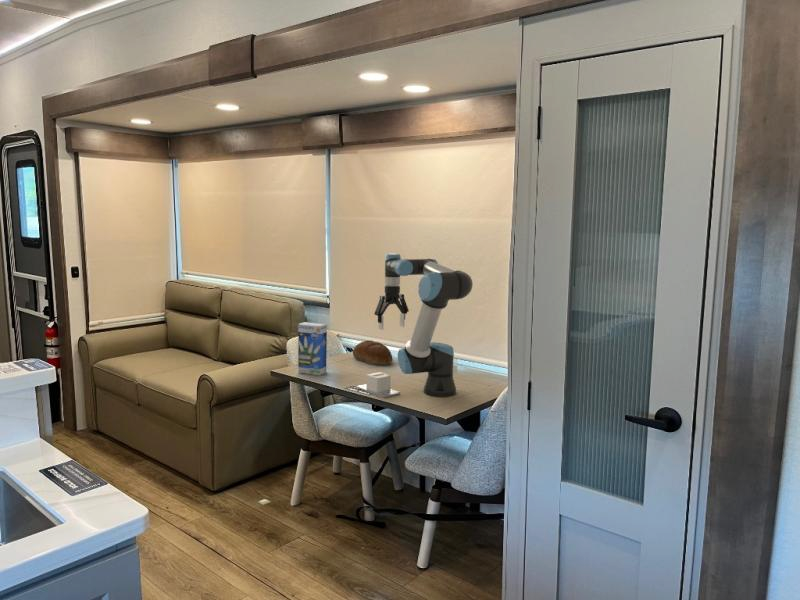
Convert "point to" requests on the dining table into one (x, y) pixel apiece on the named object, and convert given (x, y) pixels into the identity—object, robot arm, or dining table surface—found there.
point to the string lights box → (312, 348)
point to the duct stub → (381, 394)
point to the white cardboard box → (378, 382)
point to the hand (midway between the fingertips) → (391, 327)
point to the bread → (372, 353)
